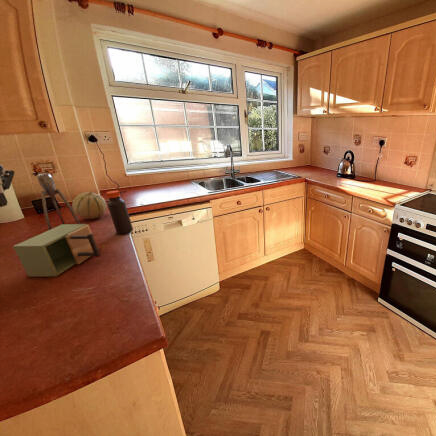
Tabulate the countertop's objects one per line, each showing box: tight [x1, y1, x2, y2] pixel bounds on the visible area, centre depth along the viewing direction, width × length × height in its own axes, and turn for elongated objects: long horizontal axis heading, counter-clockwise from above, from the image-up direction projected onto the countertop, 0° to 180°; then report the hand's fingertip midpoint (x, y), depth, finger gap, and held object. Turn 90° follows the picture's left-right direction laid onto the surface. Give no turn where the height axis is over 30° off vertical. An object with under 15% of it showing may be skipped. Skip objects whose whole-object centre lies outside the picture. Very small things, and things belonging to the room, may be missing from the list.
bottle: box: [105, 190, 134, 235], centre depth 114 cm, size 7×7×20 cm
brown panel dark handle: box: [65, 227, 101, 265], centre depth 92 cm, size 9×9×12 cm
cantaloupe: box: [71, 191, 108, 220], centre depth 134 cm, size 15×15×15 cm
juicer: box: [36, 172, 81, 230], centre depth 111 cm, size 10×11×30 cm
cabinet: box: [12, 223, 93, 278], centre depth 90 cm, size 11×18×12 cm, turn 179°
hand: (1, 206), depth 71 cm, fingers closed
